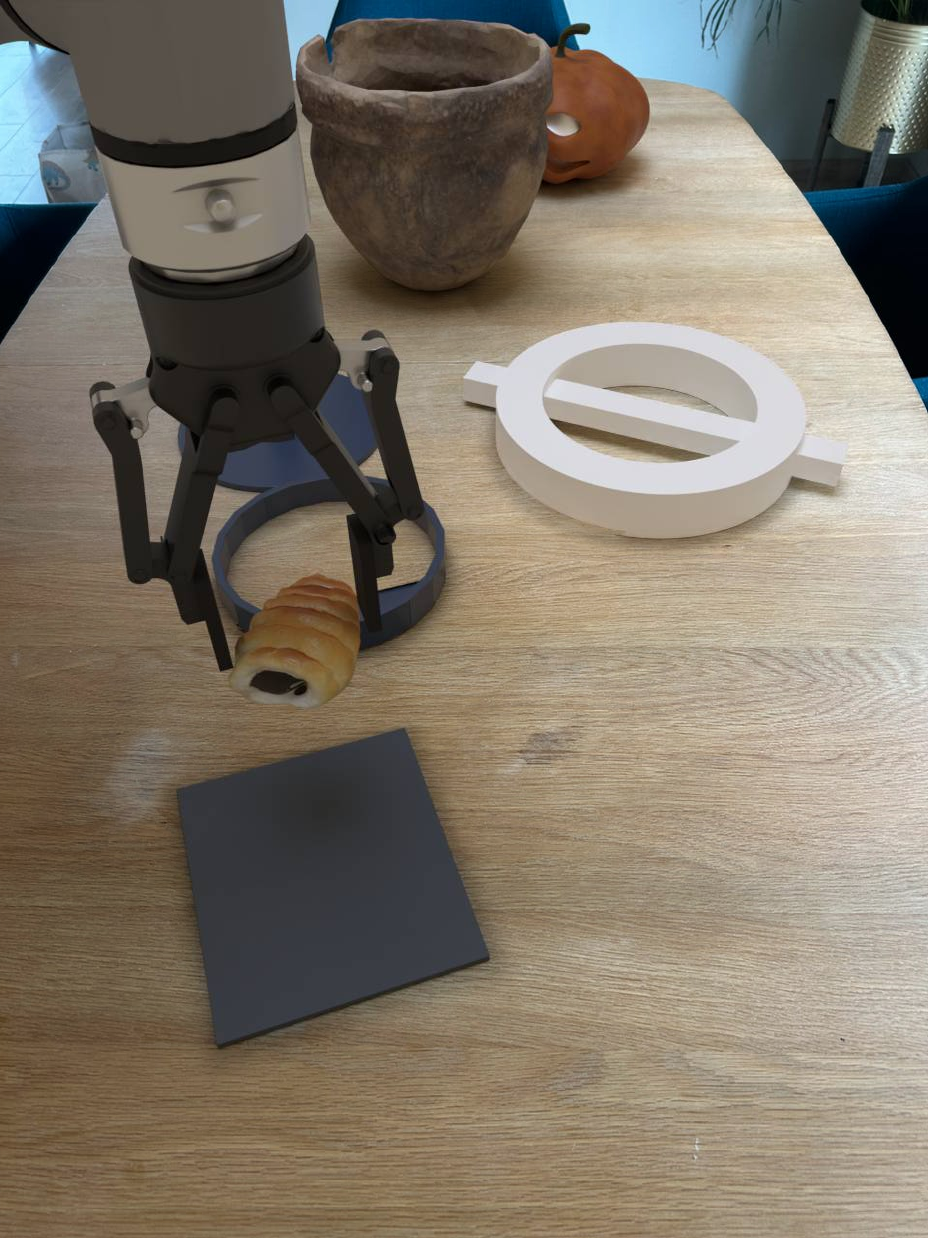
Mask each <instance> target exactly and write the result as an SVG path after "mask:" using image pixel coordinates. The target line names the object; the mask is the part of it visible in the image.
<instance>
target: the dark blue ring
mask: <svg viewBox="0 0 928 1238" xmlns="http://www.w3.org/2000/svg"><path fill="white" fill-rule="evenodd" d="M364 476H365V477H366V478H367V480H368V481H369V483H370V484H371V486H372V487H373V488H374V490H375V491H376V493H377V494H378V493H380V492H382V491H384V490H386V489H387V488H389V483H388V480H387V478H381V477H376V476H370V475H365V474H364ZM422 500H423V504H424V507H425V511H424V514H423V515H422V516H421V517H420V518H419V519H417V520H413V521H412V522H413V523H414V524H415V525H416V526H417V527H419V529H421V530H422V531H423V532H424V533H425V534H426V535H427V536H428V538H429V540H430V542H431V545H432V547H433V549H434V551H435V555H434V557H433V558H432V560H431V563H430V564H429V567H428V569H427V571H426V573H425V575H424V576H423V577H422V578H421V579H420V580H415V581H411V582H408V583H404V584H399V585H395V586H391V587H386V588H381V589H378V594H379V603H380V612H381V621H382V630H381V631H377V632H373V633H369V630H368V628H367V625H366V623H365V620H364V618H363V615H362V612H361V610H360V607H359V605H358V608H359V615H360V622H359V624H360V646H359V650H358V651H362V650H365V649H369V648H372V647H376V646H378V645H381V644H383V643H386V642H388V641H390V640H393V639H394V638H396V637H397V636H399V635H401V634H403V633H405V632H406V631H408V630H409V629H411V628H412V627H414V626H415V625H416V624H417V623H419V622H420V621H421V620H422V619H423V618H424V617H425V616H426V615H427V614H428V612H429V611H430V610H431V609H432V608H433V607H434V605H435V603H436V602H437V600H438V599H439V597H440V596H441V595H440V594H441V592H442V591H443V587H444V584H445V581H446V575H447V574H446V563H447V562H446V554H447V553H446V532H445V528H444V527H443V525H442V523H441V520H440V518H439V517H438V515H437V512H436V510H435V509H434V508H433V507H432V506H431V505H430V504H429V503H428V502H426V501H425V500H424V499H423V498H422ZM341 502H342V503H343V502H344V503H347V501H346V500H345V499H344V497H343V496H342V494H341V493H340V492H339V490H338V489H337V488H336V486H335V485H334V484H333V482H332V481H331V480H330V478H329V477H328V475H327V474H321V475H316V476H311V477H306V478H302V479H297V480H292V481H289V482H286V483H284V484H281V485H279V486H277V487H274V488H272V489H270V490H267V491H265V492H259V493H258V494H257V495H255V496H254V497H253V498H251V499H250V500H249V501H247V502H246V503H244V504H243V505H242V506H240V507H239V508H238V509H236V510H234V512H233V513H232V514H231V516H230V517H229V518H228V520H227V521H226V522H225V524H224V525H223V526H222V528H221V529H220V530H219V531H218V533H217V535H216V538H215V539H216V540H215V544H214V547H213V551H212V554H211V564H212V567H213V572H214V577H215V580H216V585H217V588H218V593H219V596H220V600H221V604H222V606H223V608H224V609H225V610H226V611H227V613H228V614H229V615H230V616H231V617H232V619H233V620H234V621H235V622H236V624H235V625H236V626H237V628H239V629H240V630H241V631H243V633H246V632H249V627H250V623H251V620H252V618H253V616H254V615H256V614H257V613H259V612H261V611H262V609H260V608H259V607H258V606H255V605H254V604H252V603H250V602H248V601H246V600H244V599H243V598H242V597H241V596H240V595H239V594H238V593H237V591H235V589H234V588H233V587H232V586H231V584H230V583H229V582H228V581H227V578H228V575H229V574H228V573H229V570H230V565H231V561H232V558H233V556H234V555H235V554H236V552H237V551H238V550H239V548H240V547H241V545H242V544H243V542H244V541H245V540H246V539H247V538H248V537H249V536H250V535H251V534H253V533H254V532H255V531H257V530H258V529H259V528H260V527H262V526H263V525H265V524H266V523H267V522H268V521H270V520H273V519H275V518H278V517H280V516H282V515H284V514H286V513H289V512H290V511H293V510H295V509H299V508H304V507H309V506H314V505H318V504H322V503H341Z"/></svg>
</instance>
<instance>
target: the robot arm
mask: <svg viewBox="0 0 928 1238" xmlns="http://www.w3.org/2000/svg"><path fill="white" fill-rule="evenodd" d="M286 17H287V16H286V10H285V2H284V0H0V46H2V45H5V44H10V43H15V42H29V43H32V44H35V45H38V46H40V47H43V48H46V49H49V50H52V51H55V52H58V53H60V54H61V53H62V54H64V55H67V56H69V57H70V61H71V64H72V68H73V72H74V75H75V78H76V82H77V85H78V88H79V92H80V95H81V98H82V103H83V105H84V109H85V112H86V115H87V117H86V118H87V119H88V124H89V128H90V131H91V136H92V140H93V145H94V149H95V152H96V155H97V159H98V163H99V166H100V170H101V174H102V177H103V181H104V184H105V188H106V192H107V195H108V199H109V202H110V206H111V210H112V214H113V217H114V220H115V224H116V227H117V232H118V235H119V239H120V242H121V245H122V248H123V249H124V250H125V251H126V252H127V253H128V254H130V255H131V256H130V259H129V261H128V267H127V268H128V274H129V278H130V281H131V285H132V289H133V292H134V297H135V300H136V303H137V307H138V312H139V315H140V319H141V322H142V326H143V329H144V334H145V337H146V341H147V344H148V348H149V353H150V354H149V361H148V364H147V367H146V370H145V376H144V377H142V378H139V379H136V380H134V381H131V382H128V383H125V384H123V385H120V386H117V387H116V386H115V384H113V383H111V382H109V381H104V380H102V381H97V382H95V383H93V384H92V385H91V387H90V388H89V393H88V395H89V401H90V408H91V415H92V416H91V417H92V422H93V425H94V428H95V430H96V432H97V434H98V435H99V436H100V439H101V440H102V442H103V443H104V445H105V447H106V448H107V450H108V452H109V453H110V455H111V462H112V472H113V477H114V487H115V494H116V502H117V503H116V504H117V510H118V519H119V525H120V526H119V527H120V528H119V529H120V535H121V543H122V544H121V545H122V551H123V557H124V563H125V569H126V575H127V579H128V581H130V582H131V583H132V584H135V585H145V584H147V583H149V582H150V581H152V579H157V580H163V581H165V582H167V583H168V584H169V585H170V587H171V590H172V593H173V596H174V600H175V603H176V606H177V609H178V613H179V617H180V620H181V621H183V623H185V625H186V626H190V625H194V624H197V623H202V622H205V625H206V629H207V632H208V635H209V639H210V643H211V645H212V649H213V653H214V656H215V659H216V663H217V666H218V670H219V672H225V671H228V670H233V667H234V663H233V659H232V656H231V652H230V648H229V644H228V643H229V642H228V640H227V636H226V632H225V628H224V625H223V621H222V616H221V614H220V610H219V606H218V602H217V598H216V595H215V591H214V588H213V584H212V583H213V582H212V580H211V576H210V573H209V569H208V565H207V561H206V558H205V554H204V551H203V548H202V547H201V546H202V542H203V538H204V534H205V530H206V526H207V523H208V519H209V514H210V511H211V506H212V502H213V499H214V494H215V490H216V488H217V479H218V476H219V475H221V474H222V472H223V469H224V465H225V461H226V458H227V454H228V453H231V452H236V451H241V450H245V449H247V448H250V447H252V446H254V445H256V444H258V443H261V442H277V443H279V442H284V441H289V440H293V439H295V437H294V434H295V435H296V436H297V437H298V439H299V440H300V441H301V443H302V444H303V446H304V447H305V448H306V450H307V451H308V452H309V454H310V455H311V456H312V455H313V456H314V458H315V459H316V460H317V462H318V463H319V465H320V466H321V467H322V469H323V470H324V471H325V473H326V474H327V475H328V477H329V478H330V480H331V481H332V482H333V484H334V485H335V486H336V488H337V489H338V490H339V492H340V493H341V494H342V496H343V497H344V499H345V500H346V501H347V502H346V503H347V504H348V506H349V507H350V508H351V509H352V511H353V513H350V514H346V515H345V518H346V519H345V520H346V526H347V532H348V534H347V535H348V541H349V549H350V555H351V556H350V557H351V563H352V572H353V577H354V586H355V594H356V596H357V602H358V605H359V607H360V610H361V612H362V615H363V618H364V620H365V623H366V625H367V628H368V630H369V633H373V632H377V631H381V630H382V621H381V612H380V603H379V594H378V590H379V585H378V579H381V578H385V577H389V576H392V574H393V571H394V569H395V561H394V552H393V551H394V550H393V544H394V543H395V541H396V540H397V533H396V530H395V528H394V527H395V526H396V525H397V524H399V523H400V522H402V521H403V520H406V521H409V522H410V521H411V522H413V520H417V519H419V518H420V517H421V516H422V515H423V514H424V511H425V507H424V504H423V500H424V499H423V496H422V493H421V489H420V485H419V481H418V478H417V473H416V470H415V466H414V463H413V460H412V459H413V458H412V455H411V452H410V448H409V444H408V440H407V436H406V433H405V429H404V424H403V422H402V418H401V415H400V410H399V407H398V403H397V393H398V392H397V391H398V383H399V375H400V370H401V369H400V368H401V367H400V360H399V359H398V357H397V355H396V354H395V351H394V349H393V348H392V346H391V344H390V342H389V341H388V339H387V338H386V336H385V334H384V333H383V332H382V331H380V330H378V329H371V330H368V331H365V332H364V334H363V336H361V340H335V339H334V337H333V336H332V334H331V333H330V331H328V329H327V326H326V322H325V315H324V307H323V299H322V291H321V285H320V275H319V268H318V261H317V252H316V246H315V243H314V240H313V239H312V237H311V236H310V235H309V234H308V233H307V232H308V231H309V230H310V227H311V222H312V216H311V209H310V200H309V195H308V194H309V193H308V187H307V179H306V172H305V165H304V159H303V152H302V143H301V137H300V129H299V122H298V114H297V105H296V101H295V99H296V92H295V85H294V84H295V83H294V75H293V67H292V59H291V51H290V42H289V35H288V33H289V32H288V27H287V26H288V25H287V18H286ZM339 371H342V372H344V373H346V376H347V377H349V379H350V381H351V383H352V385H353V387H355V388H356V389H358V390H361V392H362V396H363V399H364V403H365V406H366V409H367V413H368V416H369V419H370V423H371V426H372V430H373V433H374V436H375V440H376V443H377V446H378V447H377V450H378V453H379V456H380V460H381V464H382V466H383V469H384V473H385V476H386V480H388V483H389V488H387V489H386V490H384V491H382V492H380V493H378V494H377V493H376V491H375V490H374V488H373V487H372V486H371V484H370V483H369V481H368V480H367V478H366V477H365V476H366V475H365V474H364V472H363V471H362V470H361V469H360V467H359V465H357V464H356V463H355V461H354V460H353V458H352V457H351V455H350V454H349V452H348V451H347V450H346V448H345V447H344V445H343V444H342V442H341V441H340V440H339V438H338V437H337V435H336V434H335V432H334V431H333V429H332V428H331V427H330V425H329V424H328V422H327V421H326V419H325V418H324V416H323V415H322V413H321V412H320V410H319V408H318V406H319V404H320V402H321V400H322V399H323V397H324V395H325V394H326V392H327V390H328V389H329V387H330V385H331V383H332V382H333V380H334V378H335V377H336V375H337V373H338V374H339ZM156 407H158V408H159V409H161V410H162V411H163V412H165V413H166V414H167V415H169V416H170V417H172V418H173V419H174V420H176V421H177V422H178V423H179V424H180V423H181V424H183V425H184V426H185V427H186V430H185V446H184V450H183V455H182V454H181V460H180V463H179V469H178V472H177V476H176V477H177V478H176V482H175V485H174V490H173V495H172V499H171V504H170V508H169V513H168V516H167V521H166V526H165V530H164V534H163V535H160V536H159V540H160V541H151V536H150V529H149V517H148V507H147V497H146V487H145V477H144V468H143V467H144V466H143V460H142V455H141V449H140V445H139V444H140V443H139V440H140V439H142V438H143V437H144V434H146V433H147V431H148V430H149V427H150V422H149V414H150V412H151V411H152V410H153V409H154V408H156ZM364 475H365V476H364ZM422 499H423V500H422Z"/></svg>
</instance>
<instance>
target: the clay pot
mask: <svg viewBox="0 0 928 1238" xmlns="http://www.w3.org/2000/svg"><path fill="white" fill-rule="evenodd" d="M329 44H330V45H331V47H332V51H331V54H330V55H331V62H330V60H329V57H328V56H329V54H328V50H327V43H326V39H325V36H322V35H321V34H319V33H318V34H317V35H315V36H313V37H311V38H310V39H309V40H307V42H305V43H304V44H303V45H301V47H300V48H299V50H298V53H297V57H296V62H295V85H296V90H297V94H298V97H299V101H300V104H301V114H302V115H303V116H304V118H305V119H306V120H307V121H308V122H309V123H310V124H311V132H310V140H309V141H310V142H309V144H310V145H309V155H310V160H311V163H312V164H311V165H312V169H313V172H314V177H315V180H316V182H317V186H318V187H319V190H320V194H321V195H322V198H323V201H324V204H325V207H326V209H327V210H328V212H329V214H330V215H331V217H332V219H333V221H334V222H335V224H336V225H337V226H338V228H339V230H340V231H341V232H342V234H343V236H345V237H346V239H347V240H348V242H349V243H350V244H351V245H352V247H353V248H354V249H355V250H356V252H357V253H359V254H360V256H361V257H362V258H363V259H364V260H365V261H366V262H367V263H368V264H369V265H370V266H371V267H372V268H373V269H374V270H375V271H377V272H378V273H379V274H380V275H381V276H383V277H385V278H386V279H388V280H390V281H392V282H395V283H396V284H398V285H401V286H403V287H405V288H408V289H410V290H414V291H421V292H422V291H423V292H437V291H438V292H439V291H447V290H451V289H457V288H460V287H462V286H464V285H466V284H468V283H470V282H472V281H474V280H477V279H479V278H480V277H482V276H483V275H484V274H486V273H487V272H489V271H490V270H491V269H492V268H494V266H496V265H497V264H498V263H499V262H500V261H502V259H503V258H504V257H505V256H506V254H507V253H508V252H509V250H510V249H511V247H512V245H513V243H514V242H515V240H516V238H517V236H518V234H519V233H520V231H521V229H522V227H523V226H524V224H525V222H526V221H527V218H528V217H529V215H530V212H531V210H532V208H533V205H534V203H535V200H536V197H537V195H538V193H539V189H540V187H541V184H542V180H543V179H542V176H543V173H544V170H545V168H546V159H547V155H548V129H547V123H546V117H545V116H546V111H547V110H548V108H549V107H550V105H551V104H552V102H553V94H554V92H553V84H552V81H553V74H554V72H553V63H552V56H551V50H550V48H551V47H550V46H549V44H548V43H547V42H546V41H545V39H543V38H542V37H540V36H539V35H538V34H536V33H535V32H532V33H526V32H524V31H522V30H520V29H518V28H516V27H514V26H512V25H510V24H508V23H507V24H506V23H500V22H483V21H475V20H465V19H437V18H415V17H406V18H405V17H404V18H395V17H385V18H357V19H355V20H352V21H349V22H346V23H344V24H341V25H339V26H336V27H335V29H334V31H333V34H332V36H331V38H330V42H329Z"/></svg>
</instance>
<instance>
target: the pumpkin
mask: <svg viewBox="0 0 928 1238" xmlns="http://www.w3.org/2000/svg"><path fill="white" fill-rule="evenodd" d="M590 33H591V24H590V23H586V22H577V23H573V24H570V25H568V26H567V27H565V28H564V29H563V31H561V33H560V35H559V37H558V40H557V45H556V46H552V47H550V50H551V56H552V63H553V72H554V74H553V81H552V84H553V92H554V94H553V102H552V104H551V105H550V107H549V108H548V110H547V111H546V116H545V117H546V123H547V129H548V155H547V159H546V168H545V170H544V173H543V176H542V180H543V181H545V182H548V183H550V184H554V185H559V184H562V183H563V184H564V183H565V182H568V181H570V180H572V179H580V180H588V179H594V178H598V177H600V176H603V175H605V174H607V173H608V172H610V171H612V170H614V169H615V168H616V167H617V166H618V165H619V164H620V163H621V162H622V161H623V160H624V159H625V158H626V156H627V155H628V153H629V152H631V151H632V150H633V149H634V148H635V147H636V146H637V144H638V143H639V142H640V141H641V139H642V138H643V136H644V134H645V133H646V130H647V128H648V125H649V123H650V118H651V117H650V116H651V108H650V101H649V97H648V94H647V92H646V90H645V87H643V85H642V84H641V82H640V81H639V80H638V78H637V77H636V76H635V75H633V73H632V72H630V71H629V70H627V68H626V67H623V65H621V64H618V63H616V62H615V61H614V60H612V59H611V57H609V56H607V55H606V54H604V53H602V52H600V51H597V50H594V49H589V48H588V49H587V48H586V49H585V48H584V49H577V50H573V49H571V48H568V47H566V44H567V42H568V39H569V38H571V36H575V35H581V36H582V35H583V36H587V35H588V34H590Z"/></svg>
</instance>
